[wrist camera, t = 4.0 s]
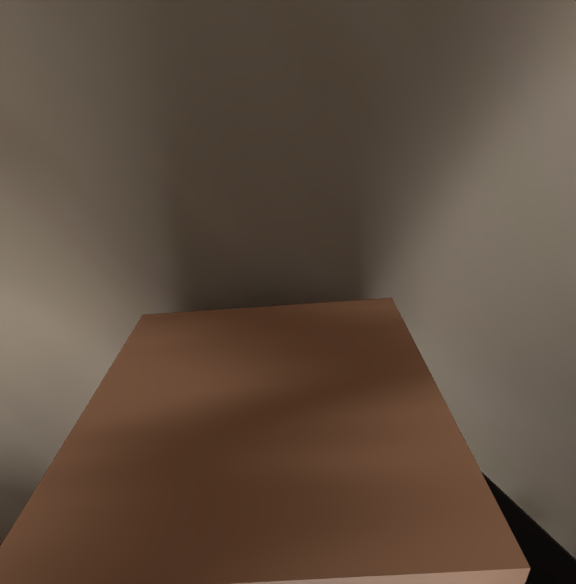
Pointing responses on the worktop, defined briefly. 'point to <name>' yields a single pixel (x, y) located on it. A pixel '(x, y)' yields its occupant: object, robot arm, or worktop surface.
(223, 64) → the worktop surface
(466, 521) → the terracotta cube
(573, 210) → the worktop surface
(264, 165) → the worktop surface
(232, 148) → the worktop surface
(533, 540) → the robot arm
